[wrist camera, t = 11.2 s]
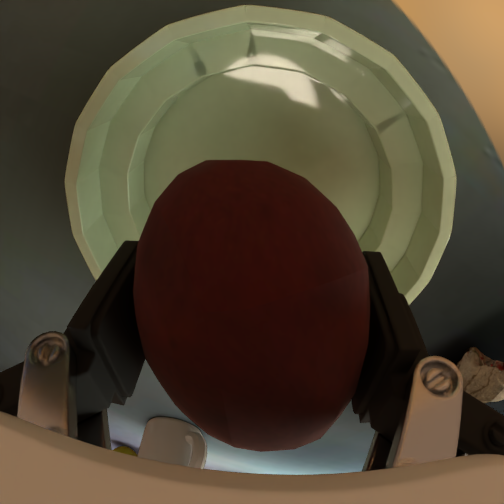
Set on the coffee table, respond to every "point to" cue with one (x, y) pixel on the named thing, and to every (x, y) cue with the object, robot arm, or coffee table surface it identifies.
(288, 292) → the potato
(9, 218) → the coffee table surface
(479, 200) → the coffee table surface
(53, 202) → the coffee table surface
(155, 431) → the cup
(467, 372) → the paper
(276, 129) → the green round dish
